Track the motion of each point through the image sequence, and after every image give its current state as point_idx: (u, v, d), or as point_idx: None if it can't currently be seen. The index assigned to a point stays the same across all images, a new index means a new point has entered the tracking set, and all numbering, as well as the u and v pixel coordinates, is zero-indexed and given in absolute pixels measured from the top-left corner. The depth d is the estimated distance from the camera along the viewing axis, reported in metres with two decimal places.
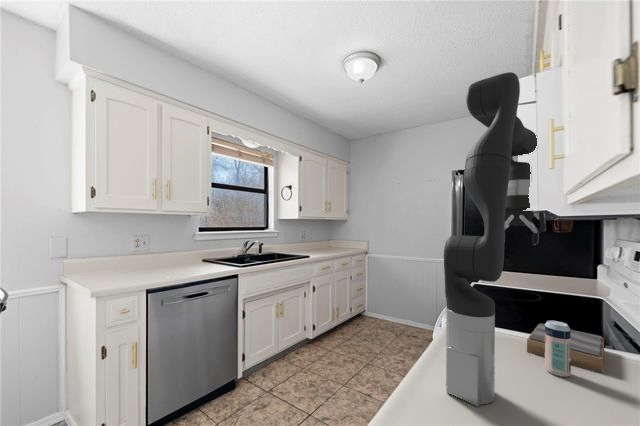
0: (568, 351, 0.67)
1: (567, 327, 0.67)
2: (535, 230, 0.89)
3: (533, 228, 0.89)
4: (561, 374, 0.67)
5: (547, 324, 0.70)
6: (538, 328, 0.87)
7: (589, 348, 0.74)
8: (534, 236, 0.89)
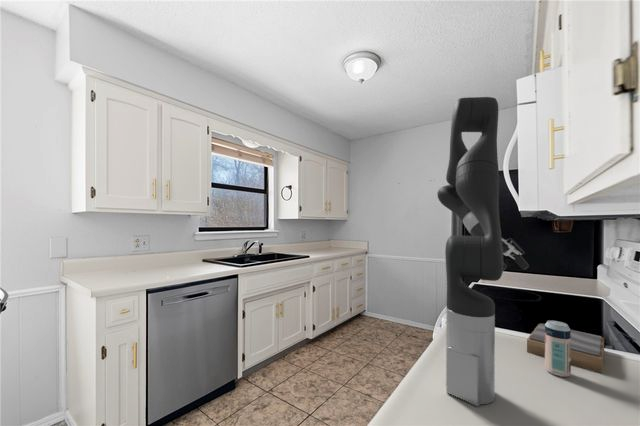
0: (568, 351, 0.67)
1: (567, 327, 0.67)
2: (519, 252, 0.84)
3: (516, 250, 0.84)
4: (561, 374, 0.67)
5: (547, 324, 0.70)
6: (538, 328, 0.87)
7: (589, 348, 0.74)
8: None
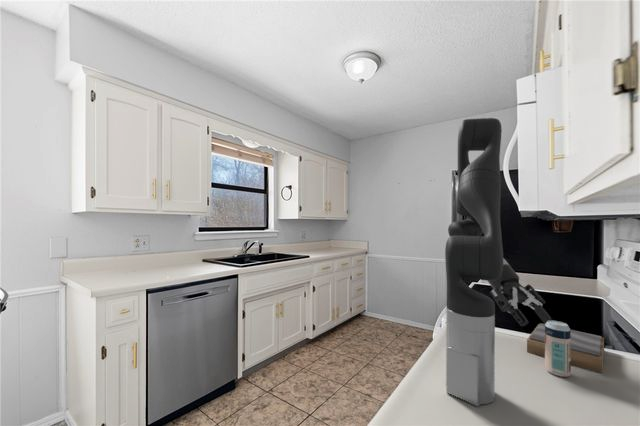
0: (568, 351, 0.67)
1: (567, 327, 0.67)
2: (539, 302, 0.78)
3: (536, 300, 0.78)
4: (561, 374, 0.67)
5: (547, 324, 0.70)
6: (538, 328, 0.87)
7: (589, 348, 0.74)
8: None
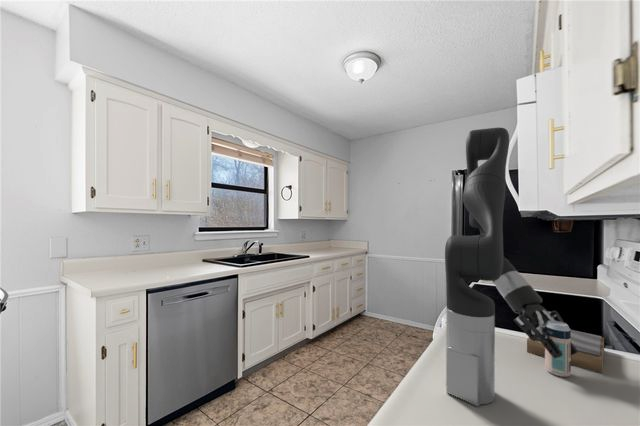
0: (568, 351, 0.67)
1: (567, 327, 0.67)
2: None
3: None
4: (561, 374, 0.67)
5: (547, 324, 0.70)
6: None
7: (589, 348, 0.74)
8: None
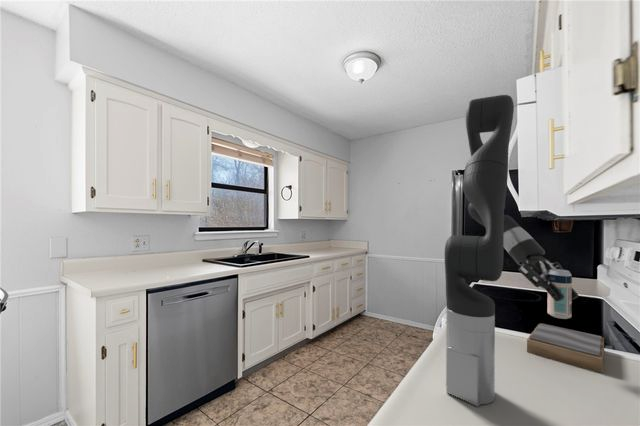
0: (569, 295, 0.71)
1: (568, 273, 0.72)
2: None
3: None
4: (562, 316, 0.71)
5: (550, 271, 0.74)
6: (538, 328, 0.87)
7: (589, 348, 0.74)
8: None
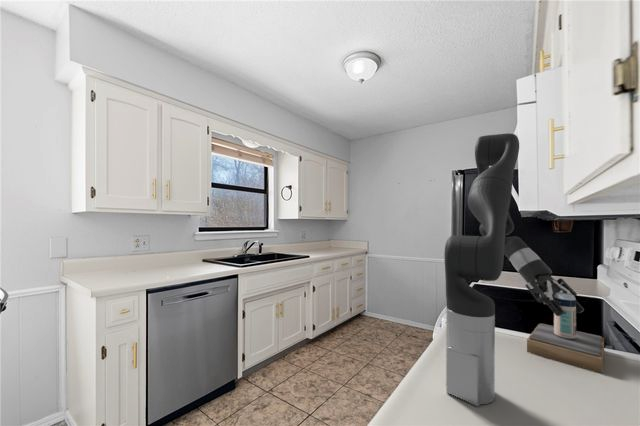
0: (574, 317, 0.79)
1: (573, 297, 0.79)
2: (572, 294, 0.84)
3: (569, 293, 0.84)
4: (568, 336, 0.79)
5: (556, 295, 0.82)
6: (538, 328, 0.87)
7: (589, 348, 0.74)
8: None
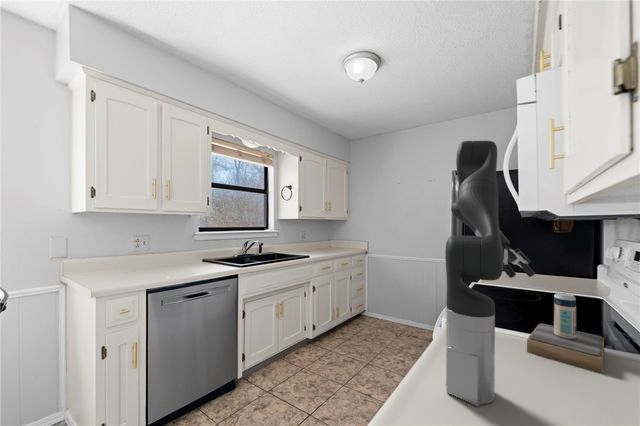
0: (574, 317, 0.79)
1: (573, 297, 0.79)
2: (526, 261, 0.96)
3: (523, 260, 0.96)
4: (568, 337, 0.79)
5: (556, 295, 0.82)
6: (538, 328, 0.87)
7: (589, 348, 0.74)
8: None
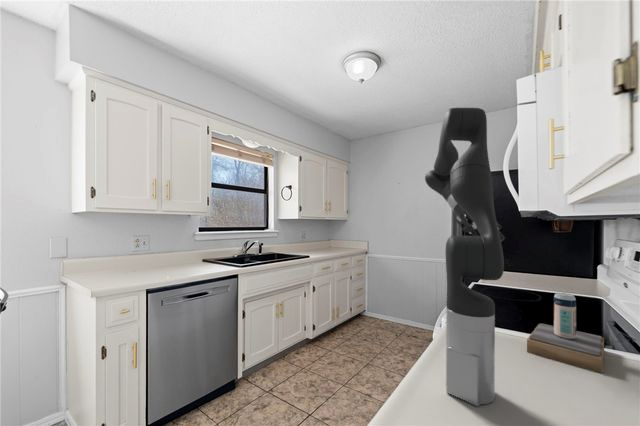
0: (574, 317, 0.79)
1: (573, 297, 0.79)
2: None
3: None
4: (568, 337, 0.79)
5: (556, 295, 0.82)
6: (538, 328, 0.87)
7: (589, 348, 0.74)
8: None
